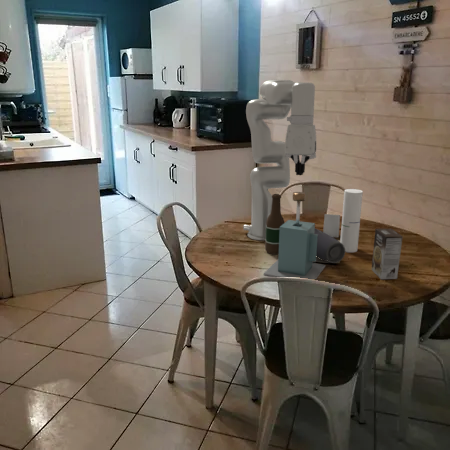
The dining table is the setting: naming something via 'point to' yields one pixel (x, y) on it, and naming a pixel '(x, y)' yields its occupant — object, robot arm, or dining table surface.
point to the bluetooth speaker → (329, 247)
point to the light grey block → (331, 225)
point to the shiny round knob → (298, 204)
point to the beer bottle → (274, 226)
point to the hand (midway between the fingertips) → (299, 174)
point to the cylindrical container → (351, 219)
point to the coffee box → (386, 253)
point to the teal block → (296, 252)
